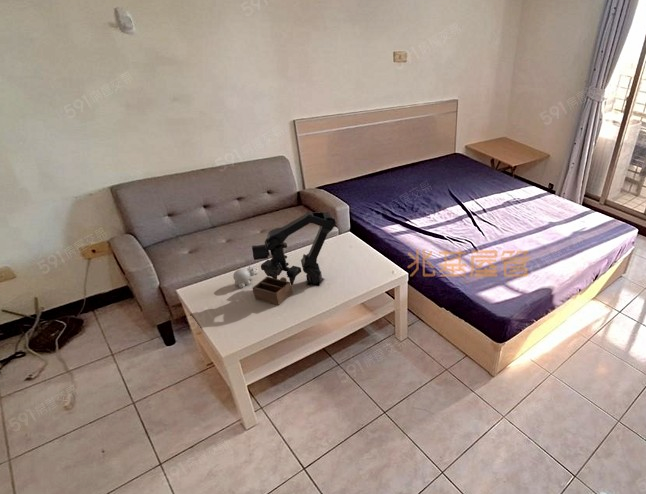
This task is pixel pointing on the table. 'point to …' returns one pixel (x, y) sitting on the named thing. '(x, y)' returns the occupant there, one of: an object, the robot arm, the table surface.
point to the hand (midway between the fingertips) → (284, 282)
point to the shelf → (272, 290)
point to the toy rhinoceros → (244, 276)
